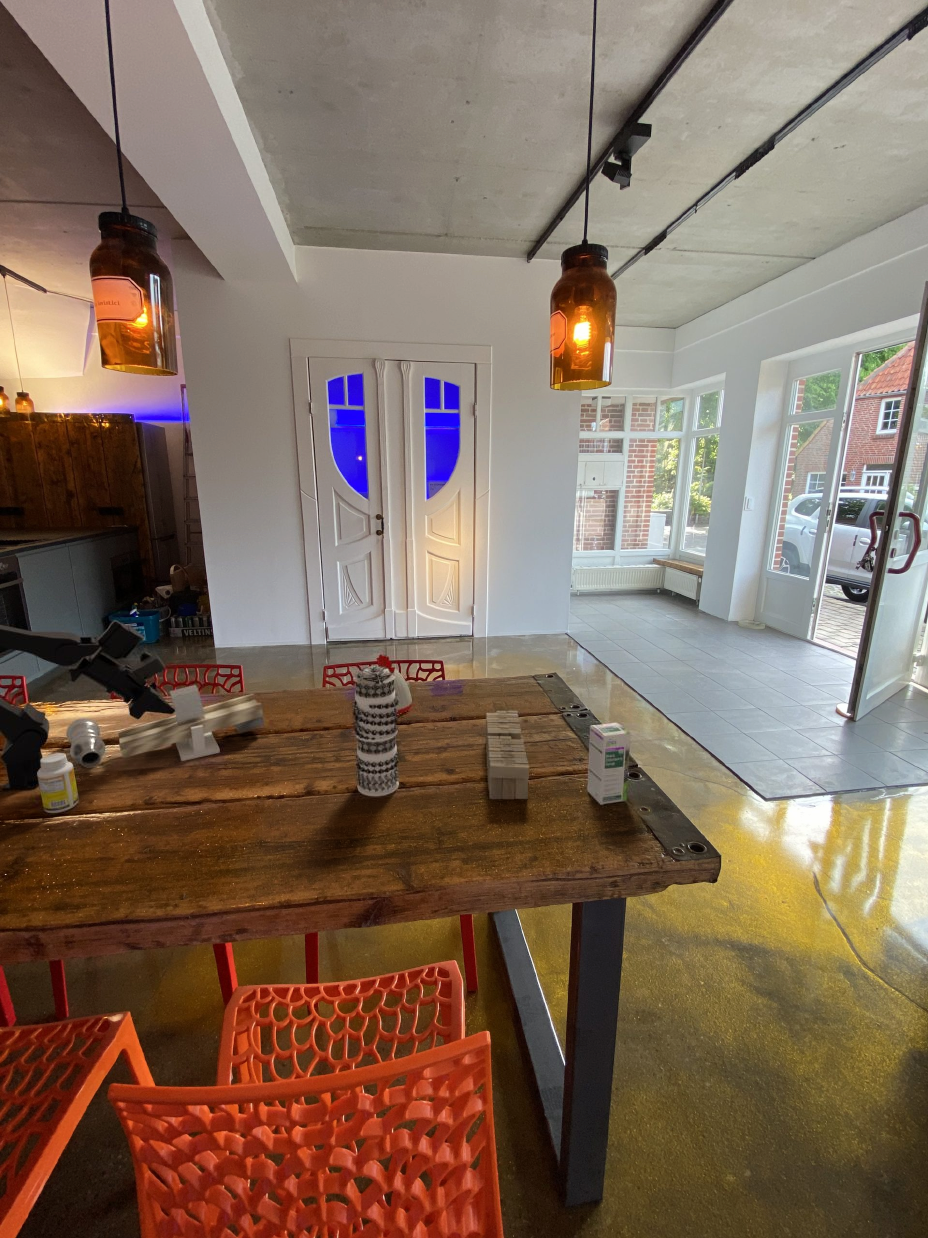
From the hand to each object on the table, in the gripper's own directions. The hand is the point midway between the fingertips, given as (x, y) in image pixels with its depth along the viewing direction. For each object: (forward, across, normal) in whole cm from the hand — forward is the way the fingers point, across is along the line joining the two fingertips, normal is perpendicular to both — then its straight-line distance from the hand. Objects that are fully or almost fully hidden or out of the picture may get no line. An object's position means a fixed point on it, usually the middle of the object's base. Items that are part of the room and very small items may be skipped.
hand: (173, 712), depth 130 cm
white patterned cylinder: (+30, -40, -16) cm, 53 cm away
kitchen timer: (+44, -2, -30) cm, 53 cm away
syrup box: (+56, -68, -42) cm, 98 cm away
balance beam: (+9, 0, +3) cm, 9 cm away
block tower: (+49, -48, -35) cm, 77 cm away
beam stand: (+9, 0, +4) cm, 10 cm away
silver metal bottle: (-9, +17, +17) cm, 26 cm away
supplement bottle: (-9, -15, +22) cm, 28 cm away
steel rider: (+5, 0, 0) cm, 5 cm away
